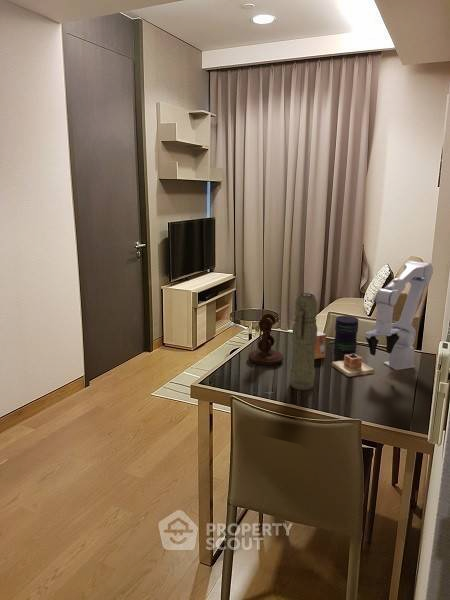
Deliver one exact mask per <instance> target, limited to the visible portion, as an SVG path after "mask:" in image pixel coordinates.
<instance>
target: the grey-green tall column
mask: <svg viewBox="0 0 450 600" xmlns="http://www.w3.org/2000/svg"><path fill="white" fill-rule="evenodd" d="M294 308H295V309H294V310H295V313H294V315H295V318H294V322H293V325H292V337H291V339H292V361H291V362H292V365H291V367H290V373H289V374H290V377H289V378H290V387H292V388H293V389H295V390H298V391H299V390H300V391H308V390H312V389H313V388H314V385H315V384H314V381H315V377H316V376H315V375H316V371H315V370H316V369H315V366H314V365H315V359H314V354H315V344H316V342H317V331H318V326H317V314H318V312H317V311H318V302H317V297H316V295H315V294H312V293H309V292H307V293H306V292H303V293H300V294H298V295H297V298H296V301H295V307H294Z"/></svg>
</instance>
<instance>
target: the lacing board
mask: <svg viewBox="0 0 450 600" xmlns="http://www.w3.org/2000/svg"><path fill="white" fill-rule="evenodd" d="M355 354H356V353H354V354H352V358H355ZM331 366H332V367H333V368H334V369H336V370H337V371H339V372H340V373H342V374H343V375H345V376H346V377H349V378H350V377H354V376H356V377H357V376H361V375H368V374H374V373H375V369H374V368H373V367H371V366H370V365H367V364H366V363H364V362H363V361H362V366H361V367H360V368H353V369H350V368H349V367H347V366H346V365H344V359H343V360H337V361H332V362H331Z"/></svg>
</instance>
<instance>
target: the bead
mask: <svg viewBox="0 0 450 600" xmlns="http://www.w3.org/2000/svg"><path fill="white" fill-rule="evenodd" d="M354 354H355V358H352V354H349V355H345V354H343V355H344V357H343V360H344V365H346V366H347V367H349V368H350V369H353V368H360V367H361V366H362V362H363V357H362V356H360V355H358V354H357V353H354Z"/></svg>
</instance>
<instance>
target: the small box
mask: <svg viewBox="0 0 450 600" xmlns="http://www.w3.org/2000/svg"><path fill="white" fill-rule="evenodd" d="M326 343H327V334H325V333H323V332H321V331H320V330H317V342H316V344H315V354H314V360H316V359H323V358H325V356H326V346H327V345H326Z"/></svg>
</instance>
